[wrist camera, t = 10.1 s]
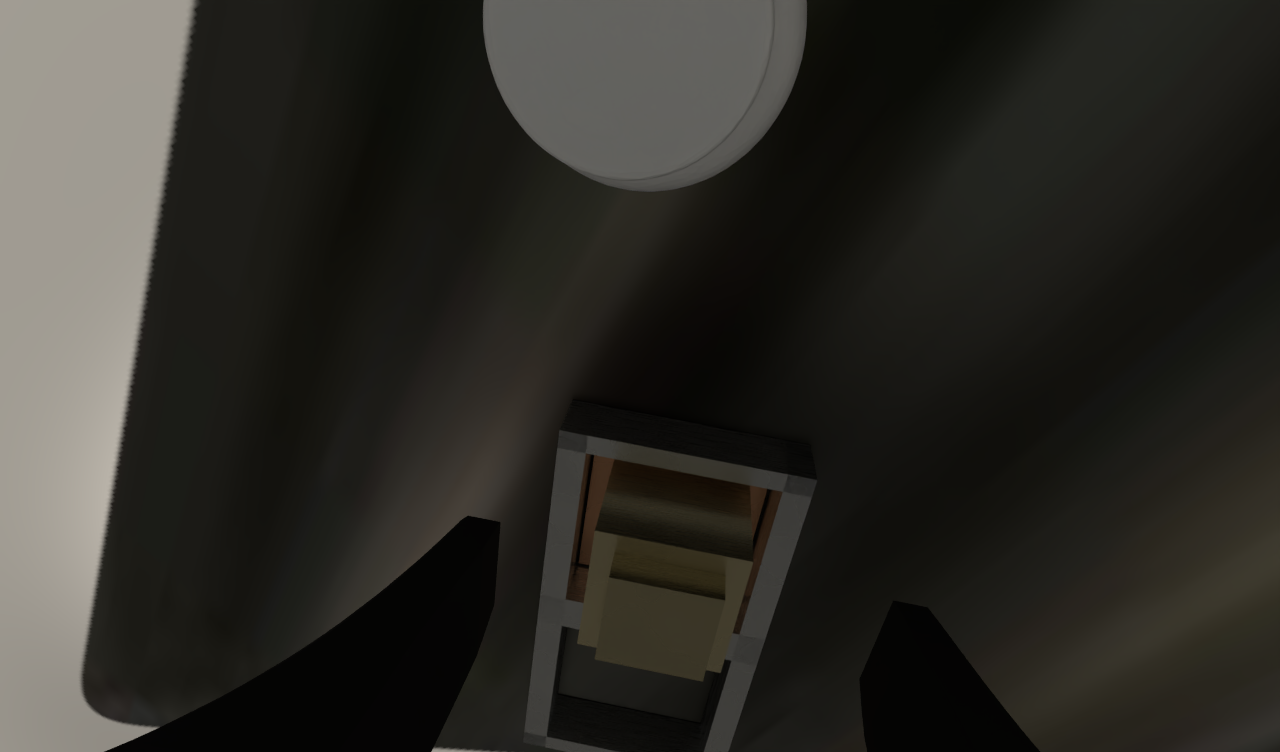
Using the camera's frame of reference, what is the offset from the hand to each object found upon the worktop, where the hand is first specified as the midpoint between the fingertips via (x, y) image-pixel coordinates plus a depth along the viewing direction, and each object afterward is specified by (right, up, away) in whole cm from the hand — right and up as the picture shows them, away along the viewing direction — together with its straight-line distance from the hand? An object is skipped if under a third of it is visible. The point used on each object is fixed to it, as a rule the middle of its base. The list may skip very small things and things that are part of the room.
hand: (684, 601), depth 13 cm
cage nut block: (0, -1, +12) cm, 12 cm away
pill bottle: (0, +13, +5) cm, 14 cm away
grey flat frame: (0, -4, +14) cm, 14 cm away
